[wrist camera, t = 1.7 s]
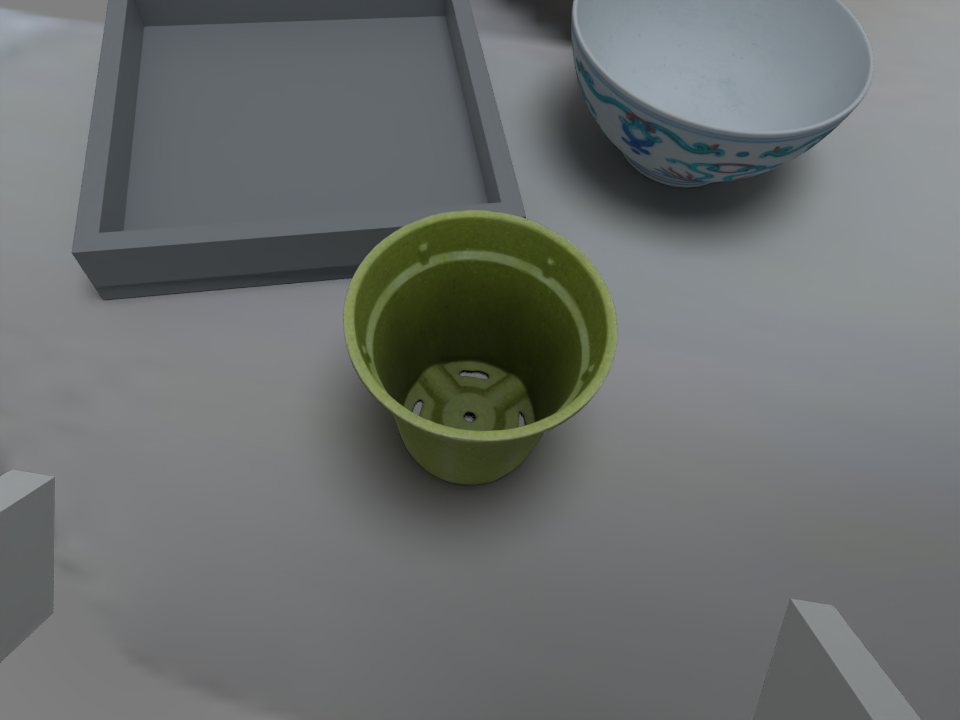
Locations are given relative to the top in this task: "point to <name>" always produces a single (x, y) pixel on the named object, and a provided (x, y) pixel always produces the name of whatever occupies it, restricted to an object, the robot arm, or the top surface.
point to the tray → (280, 139)
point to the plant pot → (478, 337)
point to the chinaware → (718, 81)
